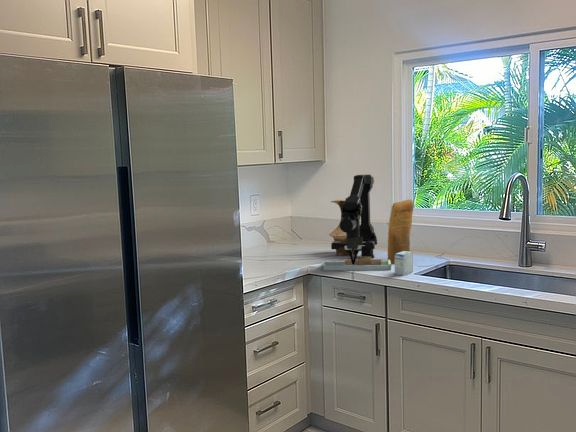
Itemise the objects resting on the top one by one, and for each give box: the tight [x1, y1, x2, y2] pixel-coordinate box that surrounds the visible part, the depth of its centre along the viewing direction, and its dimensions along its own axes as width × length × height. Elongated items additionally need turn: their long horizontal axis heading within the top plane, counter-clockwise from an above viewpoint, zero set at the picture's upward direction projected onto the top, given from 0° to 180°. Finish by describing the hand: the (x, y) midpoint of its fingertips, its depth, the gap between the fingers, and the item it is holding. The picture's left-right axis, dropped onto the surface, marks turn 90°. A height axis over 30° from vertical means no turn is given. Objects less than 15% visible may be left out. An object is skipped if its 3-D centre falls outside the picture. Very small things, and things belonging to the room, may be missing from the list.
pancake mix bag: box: [387, 199, 414, 265], centre depth 262 cm, size 7×19×28 cm, turn 132°
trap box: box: [320, 258, 392, 271], centre depth 255 cm, size 14×30×2 cm, turn 82°
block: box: [356, 256, 372, 265], centre depth 253 cm, size 5×6×4 cm
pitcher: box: [328, 197, 361, 257], centre depth 286 cm, size 18×17×28 cm
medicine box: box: [394, 251, 414, 276], centre depth 239 cm, size 8×4×9 cm, turn 141°
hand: (353, 264), depth 254 cm, fingers closed
